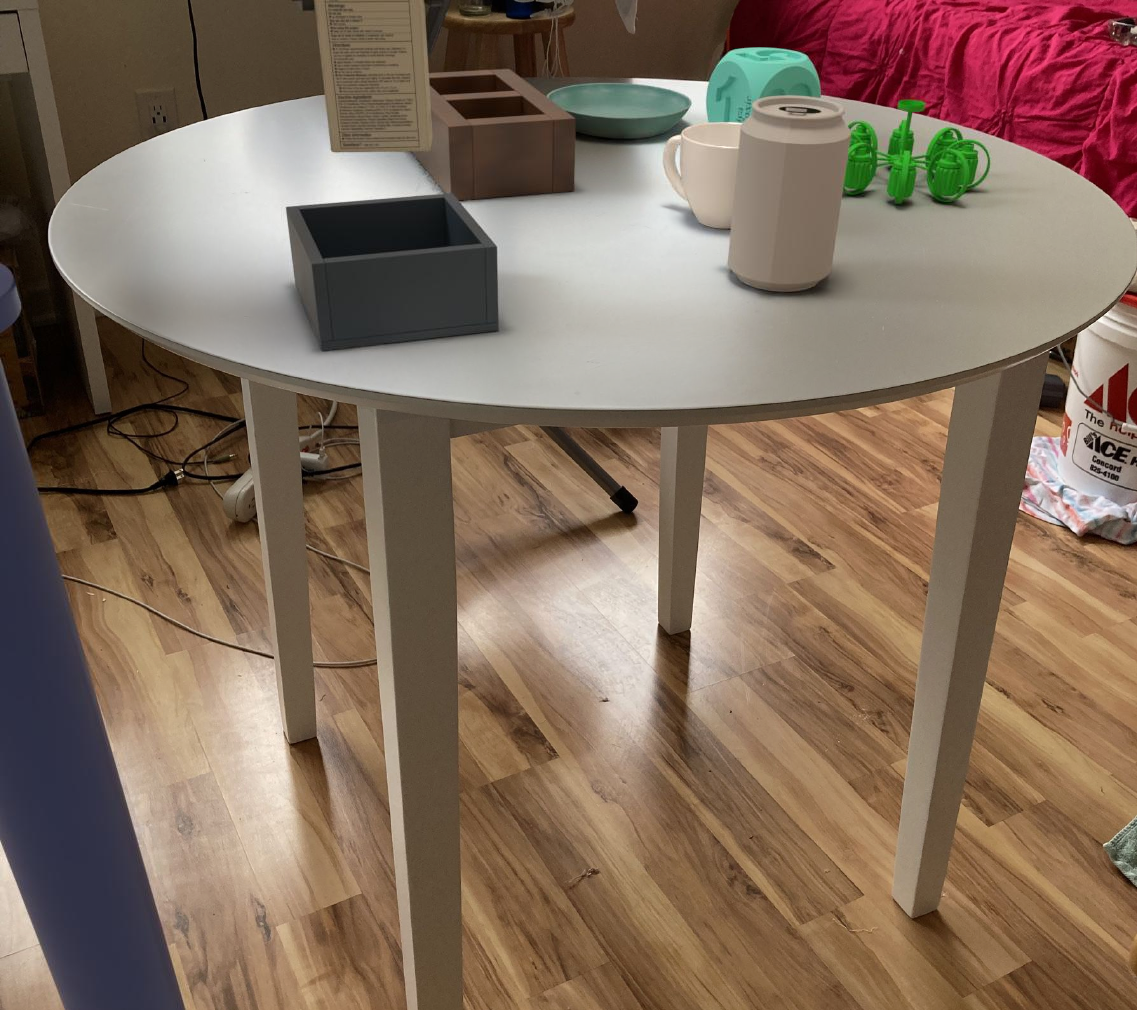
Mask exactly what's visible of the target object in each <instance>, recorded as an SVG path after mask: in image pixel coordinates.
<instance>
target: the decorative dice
mask: <svg viewBox="0 0 1137 1010" xmlns="http://www.w3.org/2000/svg"><path fill="white" fill-rule="evenodd" d="M787 95H793V96H808V97H816V98H822V92H821V83H820V78H819V75H818V72H817V70H816V67H815V65H814V64H813V62H812V60H811V59H810V58H809V56H808V55H806V54H805V53H803V52H800V51H795V50H791V49H786V48H777V47H744V48H743V47H742V48H735V49H732V50H730V51H728V52H727V53H726V54H725V55H724V56H723V57H721V59H720V61H719V62H718V63H717V65H716V66H715V68H714V69H713V72H712V73H711V76H710V78H709V80H708V84H707V88H706V96H705V97H706V98H705V106H706V110H705V111H706V116H707V121H708V123H714V122H731V123H743V122H744V121H745V120H746V119H747V118H748V117H749V116H750V115H751V114H752V113H753V112H754V110H753V109H752V103H753V102H755V101H756V100H758V99H761V98H765V97H771V96H787Z"/></svg>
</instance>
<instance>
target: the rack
mask: <svg viewBox="0 0 1137 1010" xmlns="http://www.w3.org/2000/svg"><path fill="white" fill-rule="evenodd" d="M429 86H430V102H431V120H432V144H431V148H430V151H410V153H411V154H412V156H413V157H415V159H416V160H417V161H418V163H419V164H420V165H421V166H422V167H423V169H424V170H425V171H426V172H427V174H429V176H430V177H431V178H432V179H433V180H434V182H435V183H436V184H437V185H438V187H439V188H440V189H441V190H442V191H443V194H448V193H453V195H454V196H455V197H456V198H457V199H458V201H469V200H482V199H493V198H505V197H507V198H508V197H517V196H528V195H530V196H531V195H541V194H551V193H552V194H553V193H563V192H575V174H576V172H575V171H576V170H575V169H576V131H575V124H576V119H575V118H574V117H573V116H571V115H570V114H569V113H567V112H566V111H565V110H563V109H562V108H561V107H559V106H558V105H557V104H555V103H554V102H553V101H551V100H550V99H549V98H547V95H545V94H543V93H542V92H540V91H539V90H538V89H537V88H535V86H533V85H531V84H530V83H529V82H527V81H526V80H525V79H523V78H522V77H521V76H519V75H518V74H517V73H515V72H514V71H513V70H512V69H510V68H501V69H500V68H497V69H479V70H464V71H463V70H462V71H444V72H429Z"/></svg>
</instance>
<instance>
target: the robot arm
mask: <svg viewBox="0 0 1137 1010" xmlns="http://www.w3.org/2000/svg"><path fill="white" fill-rule="evenodd" d="M291 1H292V2H296V3H297V7H298V10H300V12H301V13H312V12H313V13H315V2H314V0H291ZM424 4H425V5H427V6H428V7H442V6H443V0H424Z"/></svg>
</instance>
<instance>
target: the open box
mask: <svg viewBox="0 0 1137 1010" xmlns="http://www.w3.org/2000/svg"><path fill="white" fill-rule="evenodd" d="M285 213H286V220H287V231H288V236H289V244H290V253H291V260H292V271H293V278H294V286H295V288H296V291H297V294H298V296H299V299H300V300H301V301H300V302H301V303H302V306H303V308H304V311H305V314H306V316H307V318H308V320H309V324H310V326H311V328H312V331H313V333H314V335H315V336H314V337H315V338H316V341H317V343H318V346H319V348H320V350H321V351H331V350H332V351H333V350H340V349H349V348H358V347H368V346H375V345H383V344H393V343H401V342H402V343H403V342H410V341H411V342H412V341H418V340H419V341H420V340H427V339H436V338H445V337H453V336H462V335H472V334H480V333H488V332H489V333H490V332H497V331H499V329H500V327H499V324H500V323H499V273H498V246H497V244H496V243H495V242H494V241H493V240H492V238H491V237H490V236H489V235H488V234H487V233H486V231H485V230H484V229H483V228H482V227H481V226H480V224H479V223H478V222H477V220H476V219H475V218H474V217H473V216H472V214H470V212H469V211H468V210H467V209H466V208H465V206H464V205H463V204H462V202H461V201H460V200H458V199H457V198H456V197H455V196H454V195H453V193H448V194H445V193H438V194H436V193H435V194H425V195H411V196H399V197H387V198H375V199H374V198H373V199H363V200H351V201H339V202H338V201H337V202H327V203H316V204H315V203H314V204H301V205H291V206H285Z"/></svg>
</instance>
